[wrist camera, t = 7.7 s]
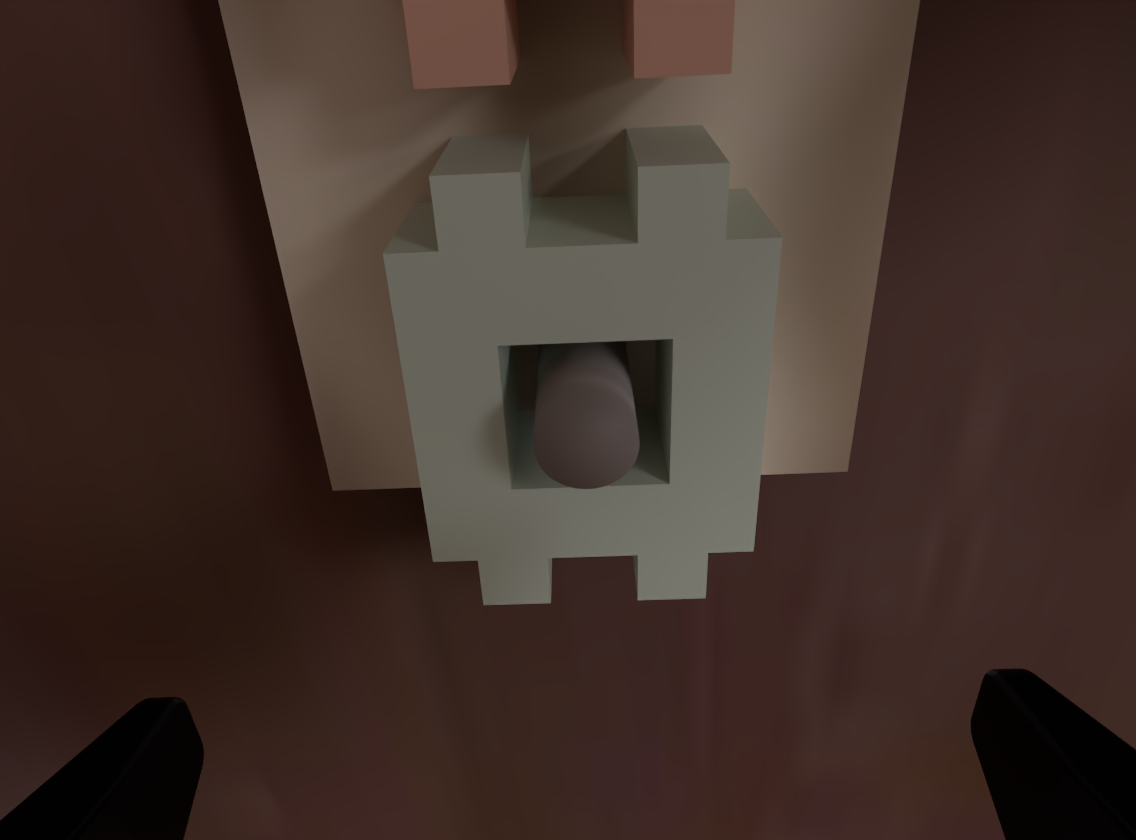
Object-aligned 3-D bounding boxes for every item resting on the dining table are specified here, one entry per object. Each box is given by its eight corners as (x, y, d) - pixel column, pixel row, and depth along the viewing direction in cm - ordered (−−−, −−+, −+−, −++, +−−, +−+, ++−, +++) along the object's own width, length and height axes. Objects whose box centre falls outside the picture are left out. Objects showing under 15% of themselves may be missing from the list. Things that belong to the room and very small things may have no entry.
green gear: (751, 122, 15) (790, 160, 12) (725, 509, 19) (749, 596, 17) (404, 138, 15) (370, 178, 12) (457, 518, 20) (440, 606, 17)
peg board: (969, -583, 12) (1249, -949, 7) (829, 437, 20) (909, 590, 15) (134, -527, 12) (-155, -842, 7) (347, 455, 20) (280, 611, 16)
